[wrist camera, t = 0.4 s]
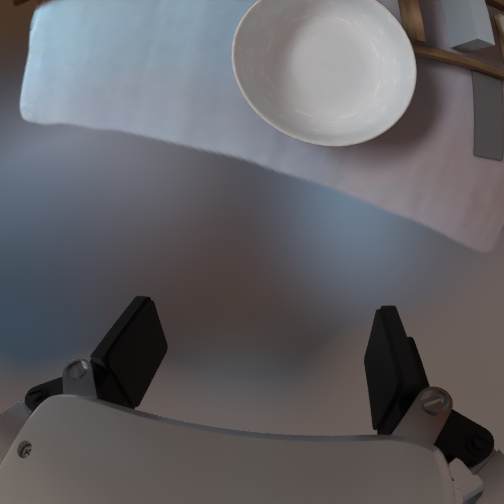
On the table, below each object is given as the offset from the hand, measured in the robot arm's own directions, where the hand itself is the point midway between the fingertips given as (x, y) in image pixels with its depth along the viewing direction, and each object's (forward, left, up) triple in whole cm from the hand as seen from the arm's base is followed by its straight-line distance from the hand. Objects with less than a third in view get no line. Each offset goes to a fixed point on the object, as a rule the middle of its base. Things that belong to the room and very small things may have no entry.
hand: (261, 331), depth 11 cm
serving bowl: (-15, +5, -30) cm, 34 cm away
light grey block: (-26, +26, -30) cm, 48 cm away
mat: (-11, +31, -30) cm, 45 cm away
